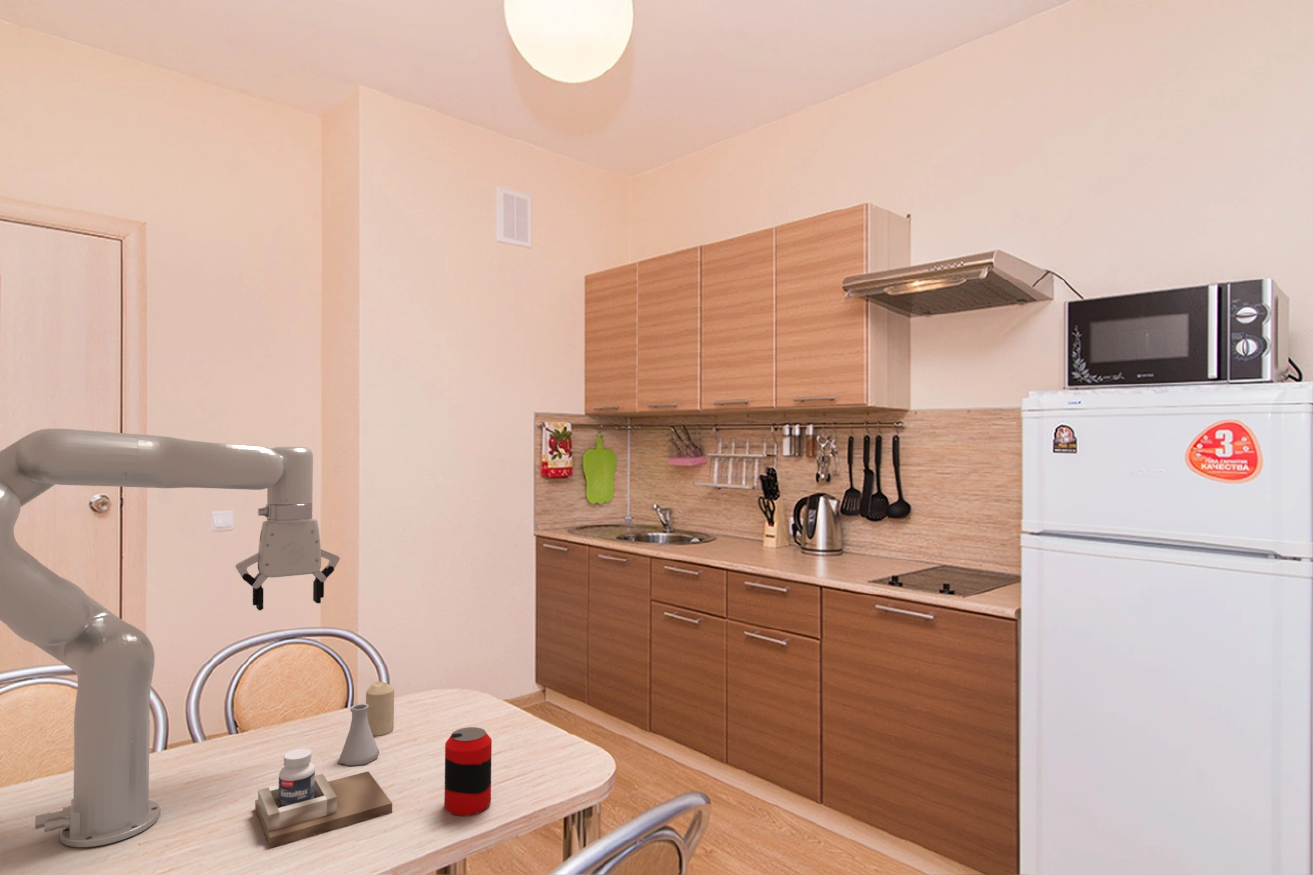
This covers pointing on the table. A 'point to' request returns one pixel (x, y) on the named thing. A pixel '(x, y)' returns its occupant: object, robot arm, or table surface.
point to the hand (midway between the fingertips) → (288, 605)
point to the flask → (359, 739)
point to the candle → (380, 708)
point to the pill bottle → (296, 778)
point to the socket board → (321, 808)
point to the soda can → (468, 771)
